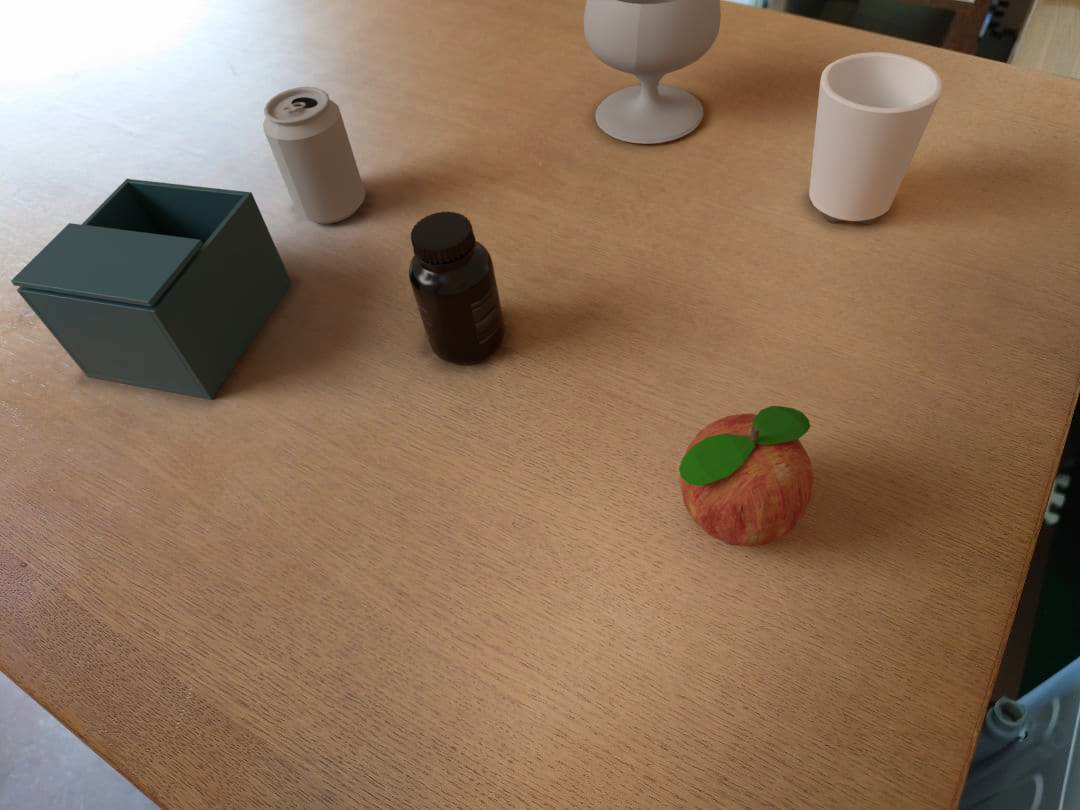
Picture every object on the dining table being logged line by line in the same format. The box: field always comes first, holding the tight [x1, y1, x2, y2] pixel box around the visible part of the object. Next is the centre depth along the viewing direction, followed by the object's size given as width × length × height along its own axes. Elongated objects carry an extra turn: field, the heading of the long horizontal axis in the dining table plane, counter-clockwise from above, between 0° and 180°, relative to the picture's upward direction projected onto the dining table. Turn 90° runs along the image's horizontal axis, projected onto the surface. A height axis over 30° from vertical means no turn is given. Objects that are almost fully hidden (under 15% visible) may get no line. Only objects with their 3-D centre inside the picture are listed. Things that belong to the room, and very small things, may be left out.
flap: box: [10, 222, 203, 306], centre depth 62 cm, size 7×13×1 cm, turn 74°
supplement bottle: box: [408, 211, 506, 365], centre depth 64 cm, size 7×7×12 cm
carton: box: [16, 178, 292, 400], centre depth 68 cm, size 15×13×10 cm
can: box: [262, 86, 366, 225], centre depth 78 cm, size 8×8×12 cm
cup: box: [808, 51, 944, 226], centre depth 71 cm, size 10×10×13 cm
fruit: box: [678, 405, 815, 548], centre depth 51 cm, size 9×10×10 cm
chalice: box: [583, 0, 722, 145], centre depth 83 cm, size 14×14×15 cm
